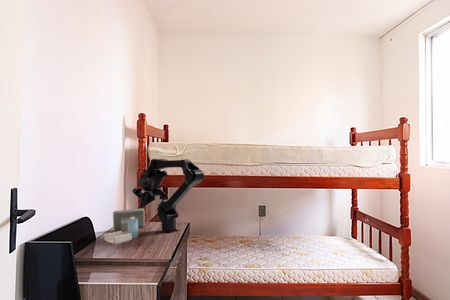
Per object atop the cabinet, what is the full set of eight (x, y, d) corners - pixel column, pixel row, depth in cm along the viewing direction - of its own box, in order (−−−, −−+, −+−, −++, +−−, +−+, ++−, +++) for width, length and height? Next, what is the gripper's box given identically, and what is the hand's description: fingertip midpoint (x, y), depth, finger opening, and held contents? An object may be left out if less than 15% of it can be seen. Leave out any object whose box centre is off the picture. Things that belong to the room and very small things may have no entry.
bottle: (134, 235, 149) (133, 215, 149) (140, 236, 146) (139, 216, 146) (126, 237, 145) (125, 217, 146) (131, 238, 142) (131, 218, 143)
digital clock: (145, 226, 169) (145, 207, 169) (144, 230, 160) (143, 209, 160) (115, 228, 167) (114, 209, 167) (111, 232, 158) (110, 211, 158)
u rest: (120, 237, 146) (120, 230, 147) (131, 240, 140) (131, 233, 140) (104, 240, 141) (104, 234, 141) (115, 244, 134) (115, 237, 134)
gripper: (133, 172, 157) (117, 197, 148) (159, 172, 147) (143, 199, 138) (146, 185, 164) (131, 210, 155) (172, 185, 154) (158, 212, 145)
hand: (140, 208), depth 148 cm, fingers closed
